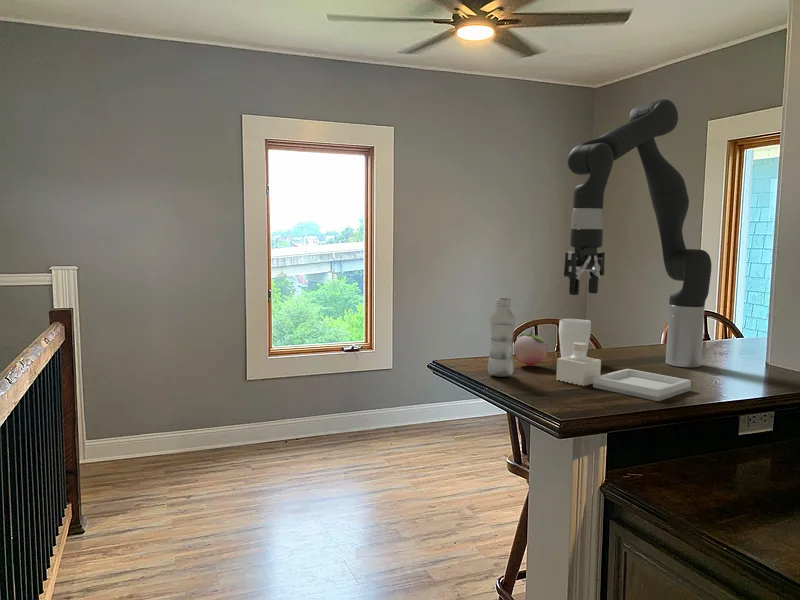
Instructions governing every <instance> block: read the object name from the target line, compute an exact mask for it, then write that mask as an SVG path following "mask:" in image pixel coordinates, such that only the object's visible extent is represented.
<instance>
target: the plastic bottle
mask: <svg viewBox="0 0 800 600" xmlns="http://www.w3.org/2000/svg"><path fill="white" fill-rule="evenodd" d="M494 306H495V309H494V310H493V312H492V313H491V314H490V317H489V328H490V340H491V341H490V351H489V357H488V362H487V372H488V373H489V375H490V376H494V377H498V378H505V377H510V376H512V374H513V373H514V369H515V365H514V364H515V363H514V359H513V356H514V355H513V344H514V343H513V341H514V334H515V333H514V332H515V327H516V322H517V319H516V316H515V314H514V312H513V310H511V307H512V303H511V298H506V297H505V298H504V297H497V298H495V304H494Z"/></svg>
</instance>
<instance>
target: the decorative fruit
mask: <svg viewBox="0 0 800 600" xmlns="http://www.w3.org/2000/svg"><path fill="white" fill-rule="evenodd" d="M532 333H533V331H532V330H531V331H530V333H525V332H522V333H521V334H520V336H519V337H518V338H517V339H516V340H515V342H514V343H513V344H514V345H513V351H514V354H515V356H516V358H517V359H518V360H519V361H520V362H522V363H523V364H525V365H526V366H528V367H529V366H531V367H533V366H535V365H537V364H540V363H541V362H542V361H543V360H544V359H545V358H546V356H547V355H548V351H549V348H548V344H547V342H546V341H545V340H544V339H543V338H542V337H541V336H540V335H537V334H536V335H532Z"/></svg>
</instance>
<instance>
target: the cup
mask: <svg viewBox="0 0 800 600" xmlns="http://www.w3.org/2000/svg"><path fill="white" fill-rule="evenodd" d="M591 329H592V323H591V320H589V319H579V318H561V319H559V325H558V337H559V349H560V358H562V357H568V356H571V355H573V343H576V342H579V343H586V344H587V346H586V356H587V353H588V349H589V346H590V345H589V344H590V339H591V334H592V330H591Z"/></svg>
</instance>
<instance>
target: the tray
mask: <svg viewBox="0 0 800 600" xmlns="http://www.w3.org/2000/svg"><path fill="white" fill-rule="evenodd" d="M691 382H692V380H691V379H686V378H680V377H675V376H670V375H666V374H665V375H664V374H659V373H653V372H650V371H649V372H648V371H643V370H636V369H632V368H625V369H621V370H615V371H612V372H608V373H605V374H600V376H595V377H594V378H593V383H592V387H593V388H596V389H599V390H604V391H609V392H614V393H618V394H622V395H627V396H632V397H637V398H641V399H646V400H651V401H655V402H660V401H663V400H666V399H670V398H673V397H674V396H676V397H677V396H679V395H682V394H684V393H686V392H690V391H691V387H692V385H691Z"/></svg>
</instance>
